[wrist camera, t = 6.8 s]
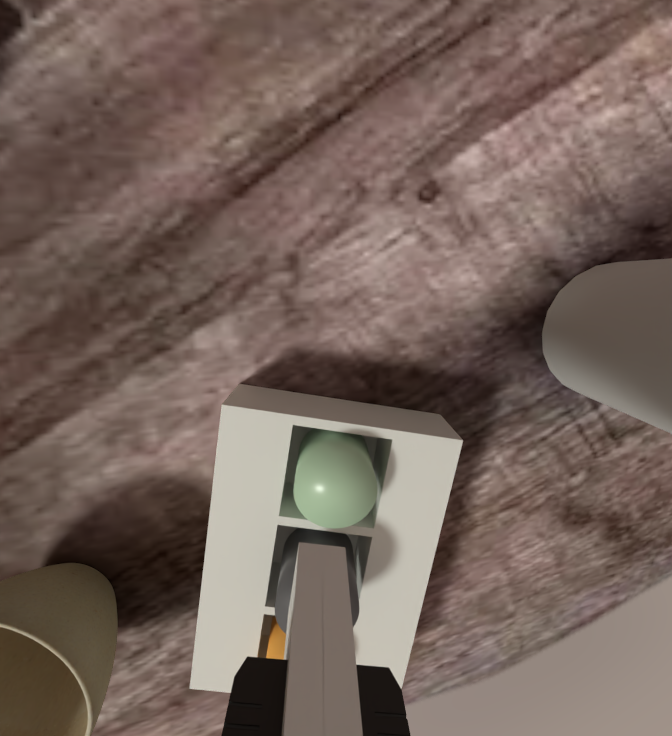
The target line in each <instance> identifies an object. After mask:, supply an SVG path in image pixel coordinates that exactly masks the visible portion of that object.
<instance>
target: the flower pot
mask: <svg viewBox="0 0 672 736" xmlns="http://www.w3.org/2000/svg"><path fill="white" fill-rule="evenodd" d="M117 627H118V619H117V605H116V598H115V593H114V590H113V587H112V585H111V584H110V582H109V581H108V579H107V578H106V577H105V576H104V575H103V574H101V573H100V572H99V571H97V570H96V569H94V568H92V567H90V566H87V565H84V564H79V563H62V564H56V565H51V566H46V567H42V568H38V569H34V570H31V571H28V572H25V573H22V574H19V575H16V576H13V577H11V578H8V579H6V580H3V581H1V582H0V736H91V734H92V732H93V729H94V727H95V724H96V722H97V719H98V716H99V714H100V711H101V708H102V705H103V702H104V699H105V695H106V692H107V688H108V685H109V681H110V677H111V673H112V668H113V663H114V658H115V651H116V643H117Z"/></svg>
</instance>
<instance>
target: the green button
mask: <svg viewBox="0 0 672 736" xmlns="http://www.w3.org/2000/svg"><path fill="white" fill-rule="evenodd" d="M293 492H294V499H295V502H296V505H297V507H298V509H299V511H300V512H301V513H302V514H303V515H304V517H305V518H307V519H308V520H309V521H311V522H312V523H314V524H316V525H318V526H322V527H325V528H334V529H335V528H344V527H348V526H351V525H353V524H356V523H357V522H359V521H361V520H362V519H363V518H364V517H365V516H367V515H368V513H369V512H370V511H371V509H372V508H373V506H374V504H375V501H376V498H377V492H378V487H377V481H376V477H375V473H374V470H373V466H372V462H371V459H370V455H369V451H368V447H367V444H366V442H365V440H364V438H363V436H362V435H358V434H351V433H344V432H337V431H331V430H324V429H317V428H313V429H312V430H310V431H309V432H308V433H307V434H306V435H305V437H304V438H303V440H302V442H301V444H300V447H299V452H298V459H297V466H296V474H295V481H294V489H293Z"/></svg>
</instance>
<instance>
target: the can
mask: <svg viewBox="0 0 672 736" xmlns="http://www.w3.org/2000/svg"><path fill="white" fill-rule="evenodd" d="M542 344H543V354H544V357H545V359H546V362H547V364H548V366H549V369H550V371H551V372H552V373H553V374H554V375H555V377H556V378H557V379H558V380H559V381H560V382H561V383H562V384H563V385H564V386H566V387H568V388H570V389H572V390H574V391H576V392H578V393H580V394H582V395H584V396H587V397H589V398H591V399H593V400H596V401H598V402H600V403H603V404H605V405H607V406H610V407H612V408H614V409H616V410H619V411H621V412H623V413H626V414H628V415H630V416H632V417H635V418H637V419H639V420H642V421H644V422H646V423H648V424H651V425H653V426H655V427H658V428H660V429H662V430H665V431H667V432H669V433H671V434H672V258H671V259H656V260H641V261H626V262H615V263H609V264H603V265H597V266H595V267H593V268H591V269H589V270H587V271H585V272H583V273H581V274H579V275H577V276H575V277H574V278H573V279H572V280H571V281H570V282H569V283H568V284H567V285H566V286H565V287H564V288H562V289H561V290H560V291H559V293H558V294H557V296H556V298H555V299H554V301H553V303H552V304H551V306H550V308H549V309H548V311H547V315H546V318H545V322H544V326H543V330H542Z"/></svg>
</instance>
